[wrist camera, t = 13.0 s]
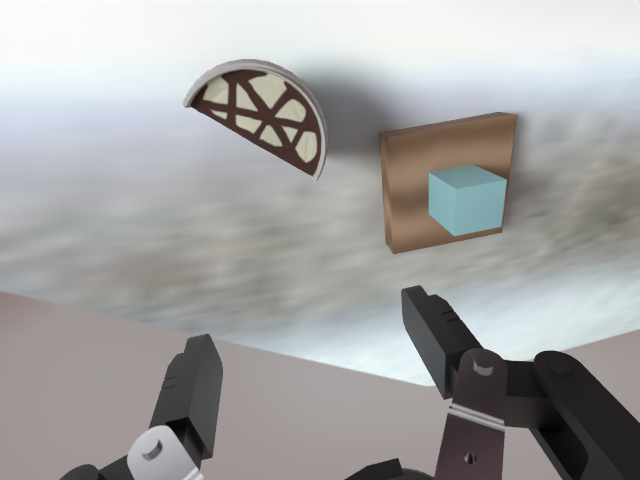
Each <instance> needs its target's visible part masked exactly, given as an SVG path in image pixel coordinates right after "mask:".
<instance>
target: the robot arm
mask: <svg viewBox="0 0 640 480" xmlns="http://www.w3.org/2000/svg"><path fill="white" fill-rule="evenodd" d="M401 296H402V315H403V322H404V325H405V328H406V331H407V333H408V335H409V336H410V338H411V340H412V342H413V344H414V346H415V347H416V349H417V351H418V353H419V355H420V357H421V358H422V360H423V362H424V364H425V366H426V368H427V370H428V371H429V373H430V375H431V377H432V379H433V381H434V382H435V384H436V386H437V388H438V390H439V392H440V393H441V395H442V397H443V399H444V400H445V399H449V398H453V400H452V404H451V406H450V407H449V410H448V414H447V419H446V424H445V428H444V433H443V438H442V443H441V447H440V452H439V457H438V461H437V466H436V471H435V476H434V477H432V476H430V475H428V474H426V473H424V472H421V471H417V470H413V469H407V468H401V465H400V462H399V459H398V458H396V459H392V460H389V461H384V462H381V463H377V464H373V465H369V466H366V467H365V468H363V469H362V470H360V471H358V472H356V473H355V474H353V475H352V476H350V477H348V478H347V479H345V480H502V469H503V452H504V438H505V426H509V427H521V428H529V430H530V431H531V433H532V434H533V436H534V437H535V439H536V440H537V442H538V443H539V445H540V446H541V448H542V449H543V451H544V452H545V454H546V455H547V457H548V458H549V460H550V461H551V463H552V464H553V466H554V467H555V469H556V470H557V472H558V474H559V475H560V477H561V478H562V479H563V480H640V423H639V422H638V421H637V420H636V419H635V418H634V417H633V416H632V415H631V414H630V413H629V412H628V411H627V410H626V409H625V408H624V407H623V406H622V405H621V403H620V402H618V400H617V399H616V398H615V397H614V396H613V395H612V394H611V393H610V392H609V391H608V390H607V389H606V388H605V387H604V386H603V385H602V384H601V383H600V382H599V381H598V380H597V379H596V378H595V377H594V376H593V375H592V374H591V373H590V372H589V371H588V370H587V369H586V368H585V367H584V366H583V365H582V364H581V363H580V362H579V361H578V360H576V359H575V358H573V357H572V356H570V355H568V354H565V353H562V352H558V351H543V352H540V353H538V354H537V355H536V356H535V358H534V362H527V361H509V360H504V359H502V358H501V357H500V356H499V355H498V354H496V353H495V352H493V351H490V350H487V349H484V348H483V347H482V346H481V344H480V343H479V342H478V341H477V339H476V338H475V337H474V335H473V334H472V333H471V332H470V330H469V329H468V328H467V326H466V325H465V324H464V323H463V321H462V320H460V318H459V316H458V315H457V314H456V312H454V310H453V309H452V307H451V306H450V305H449V303H448V302H447V301H446V300H444V299H442V298H441V297H439V296H438V295H436V294H435V295H431V296H428V295H427V293H426V292H425V291H424V289H423V288H422V287H421V286H420V285H418V286H414V287H409V288H405V289H402V291H401ZM222 377H223V367H222V362H221V359H220V357H219V354H218V352H217V350H216V348H215V345H214V343H213V341H212V339H211V337H210V335H209V334H204V335H200V336H195V337H191V338H189V339H188V340H187V343H186V347H185V350H184V353H181V354H177V355H176V356H175V358H174V359H173V360H172V362H171V363H170V364H169V366H168V369H167V372H166V375H165V380H164V381H163V385H162V390H161V391H160V394H159V398H158V401H157V404H156V407H155V410H154V414H153V417H152V420H151V423H150V426H149V429H148V430H147V431H146V432H144V433H143V434H142V435H141V436H139V438H138V439H137V440H136V441H135V442H134V443H133V445H132V447H131V448H130V451H129V453H128V454H127V455H126V456H124V457H122V458H120V459H119V460H117V461H115V462H113V463H111V464H110V465H108V466H106V467H104V468H103V469H100V470H98V469H97V468H96V467H94V466H93V465H90V464H87V465H81V466H79V467H76V468H75V469H73V470H71V471H69V472H68V473H67V474H65V475H64V476H63V477H62V478H61V479H60V480H205V478H204V477H203V475H202V474H201V472H200V466H201V460H204V459H208V458H212V456H213V448H214V440H215V432H216V425H217V416H218V409H219V401H220V393H221V385H222Z"/></svg>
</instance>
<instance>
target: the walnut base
mask: <svg viewBox="0 0 640 480" xmlns="http://www.w3.org/2000/svg"><path fill="white" fill-rule="evenodd" d="M516 117H517V115H514V114H508V113H502V112H496V113H491V114H485V115H480V116H474V117H468V118H463V119H457V120H452V121H446V122H440V123H435V124H429V125H424V126H418V127H412V128H407V129H401V130H396V131H390V132H384V133H380V151H381V168H382V185H383V202H384V219H385V236H386V244H387V245H388V247H389V248H390V250H391V251H392V253H393V254H397V253H402V252H407V251H412V250H417V249H422V248H427V247H432V246H437V245H442V244H447V243H452V242H457V241H462V240H467V239H472V238H477V237H482V236H487V235H492V234H497V233H502V227H503V219H504V211H505V203H506V195H507V187H508V180H509V172H510V164H511V156H512V148H513V140H514V132H515V125H516ZM471 164H473V165H475V166H477V167H480V168H482V169H484V170H486V171H489V172H491V173H493V174H495V175H498V176H500V177H502V178H504V179H507V183H506V191H505V200H504V208H503V216H502V225H501V227H497V228H492V229H487V230H483V231H478V232H473V233H468V234H463V235H458V236H453V235H452V234H451V233H450V232H449V231H448V230H447V229H445V228H444V227H443V226H442V225H441V224H440V223H439V222H437V221H436V220H435V219H434V218H433V217H432V216H430V215H429V172H434V171H440V170H445V169H450V168H455V167H460V166H466V165H471Z"/></svg>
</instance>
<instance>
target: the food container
mask: <svg viewBox="0 0 640 480" xmlns="http://www.w3.org/2000/svg"><path fill="white" fill-rule="evenodd" d="M183 105H184V107H185V108H188V107H192V108H194V109H196V110H197V111H199V112H200V113H203V114H205V115H207V116H209V117H210V118H212V119H214V120H215V121H217V122H219V123H221V124H222V125H224V126H226V127H227V128H229V129H231V130H232V131H234V132H236V133H238V134H239V135H241V136H242V137H244V138H246V139H247V140H249V141H251V142H252V143H254V144H256V145H257V146H259V147H261V148H263V149H265V150H267V151H268V152H270V153H272V154H274V155H276V156H277V157H279V158H281V159H283V160H284V161H286V162H288V163H290V164H291V165H293V166H295V167H297V168H298V169H300V170H302V171H304V172H305V173H307V174H309V175H310V176H311V177H312V179H313V180H314V182H316V181H317V180H318V178H319V176H320V175H321V172H322V170H323V167H324V164H325V160H326V154H327V148H328V133H327V126H326V121H325V118H324V114H323V112H322V109H321V107H320V105H319V103H318V101H317V99H316V98H315V96H314V95H313V93H312V92H311V90H310V89H309V88H308V87H307V86H306V85H305V84H304V82H303V81H302V80H300V79H299V78H298V77H297V76H295V75H294V74H293V73H291V72H290V71H288V70H286V69H284V68H283V67H281V66H278V65H276V64H273V63H270V62H267V61H261V60H256V59H241V60H235V61H229V62H226V63H224V64H221V65H218V66H216V67H214V68H213V69H211V70H209V71H208V72H206V73H205V74H204V75H203V76H201V77H200V78H199V79H198V80H197V81H196V82H195V83H194V85H193V86H192V87H191V88H190V90H189V91H188V93H187V95H186V96H185V98H184V100H183Z"/></svg>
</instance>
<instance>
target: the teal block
mask: <svg viewBox="0 0 640 480" xmlns="http://www.w3.org/2000/svg"><path fill="white" fill-rule="evenodd" d="M506 183H507V179H504V178H502V177H500V176H498V175H495V174H493V173H491V172H489V171H486V170H484V169H482V168H480V167H477V166H475V165H473V164H471V165H466V166H460V167H455V168H450V169H445V170H440V171H434V172H429V215H430V216H432V217H433V218H434V219H435V220H436V221H437V222H439V223H440V224H441V225H442V226H443V227H444V228H445V229H447V230H448V231H449V232H450V233H451V234H452V235H453V236H458V235H463V234H468V233H473V232H478V231H483V230H487V229H492V228H497V227H501V225H502V216H503V208H504V200H505V191H506Z"/></svg>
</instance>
